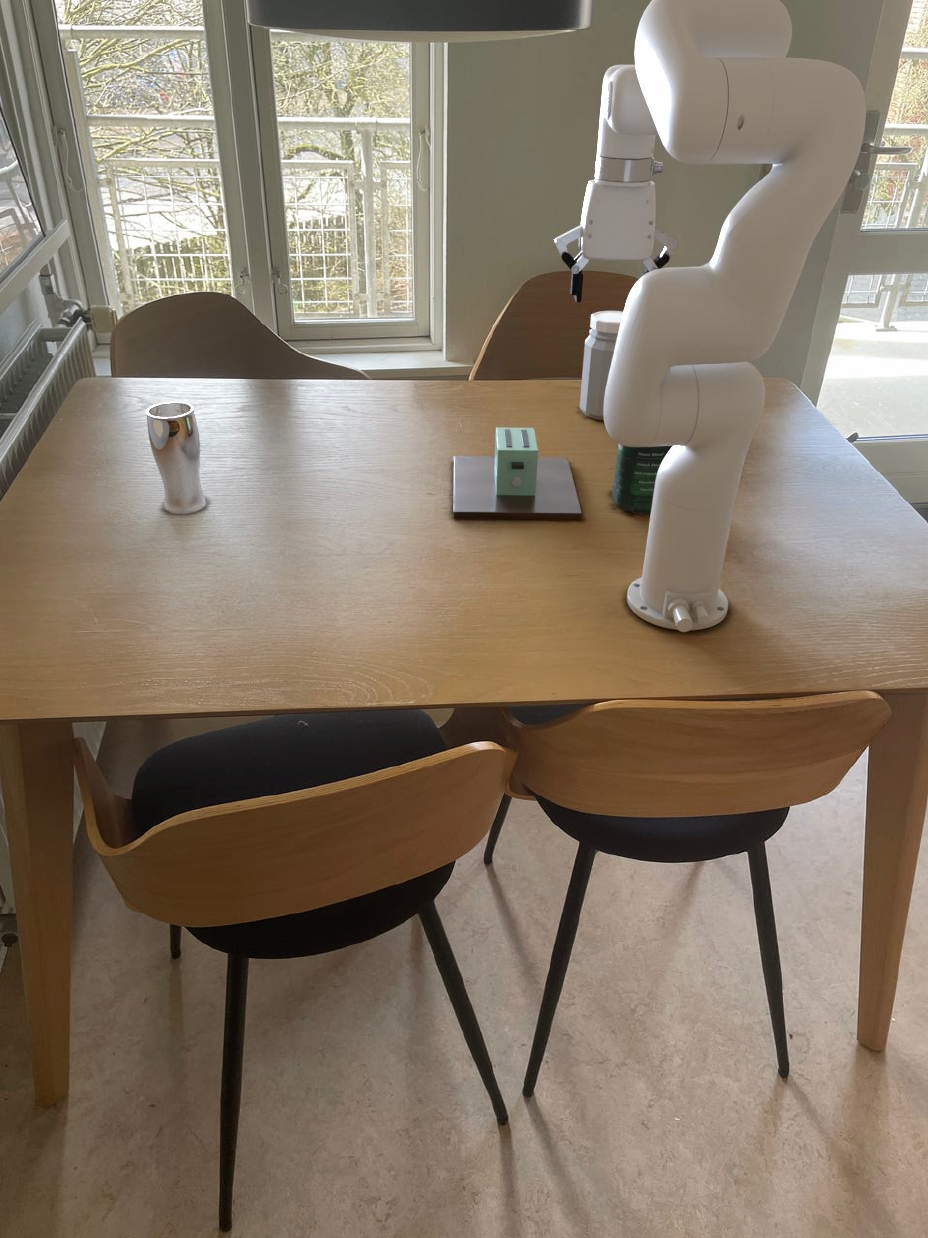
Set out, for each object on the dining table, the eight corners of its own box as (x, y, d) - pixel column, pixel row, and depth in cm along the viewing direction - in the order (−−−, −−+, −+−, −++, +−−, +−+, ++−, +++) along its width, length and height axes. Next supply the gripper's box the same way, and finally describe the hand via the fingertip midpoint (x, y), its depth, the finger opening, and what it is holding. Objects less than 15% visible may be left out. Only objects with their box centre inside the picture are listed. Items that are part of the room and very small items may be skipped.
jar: (573, 404, 179) (581, 309, 170) (622, 403, 180) (633, 308, 171) (584, 422, 171) (593, 324, 162) (636, 421, 172) (647, 323, 163)
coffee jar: (668, 516, 139) (686, 396, 129) (615, 515, 139) (630, 395, 129) (658, 489, 147) (675, 374, 137) (608, 488, 147) (621, 373, 137)
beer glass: (218, 505, 140) (204, 409, 132) (178, 520, 136) (161, 422, 127) (192, 491, 144) (177, 397, 136) (152, 505, 139) (134, 409, 131)
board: (581, 520, 138) (581, 513, 137) (453, 518, 137) (453, 511, 137) (567, 463, 155) (567, 457, 155) (453, 462, 155) (454, 455, 154)
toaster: (494, 470, 149) (495, 426, 145) (531, 471, 149) (534, 426, 145) (496, 498, 141) (498, 452, 136) (535, 499, 141) (538, 452, 137)
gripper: (681, 168, 128) (664, 295, 138) (557, 166, 128) (548, 293, 137) (693, 175, 122) (674, 308, 131) (562, 173, 122) (553, 306, 131)
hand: (610, 300), depth 134 cm, fingers open, 9 cm apart
